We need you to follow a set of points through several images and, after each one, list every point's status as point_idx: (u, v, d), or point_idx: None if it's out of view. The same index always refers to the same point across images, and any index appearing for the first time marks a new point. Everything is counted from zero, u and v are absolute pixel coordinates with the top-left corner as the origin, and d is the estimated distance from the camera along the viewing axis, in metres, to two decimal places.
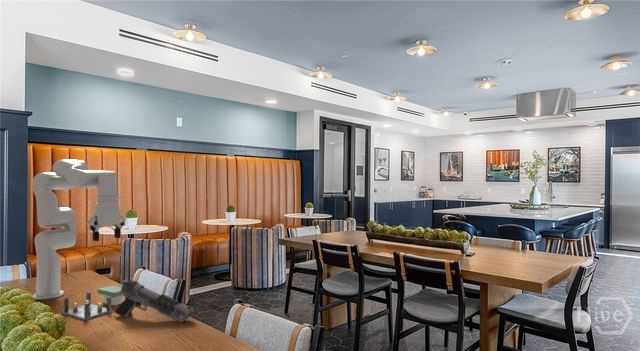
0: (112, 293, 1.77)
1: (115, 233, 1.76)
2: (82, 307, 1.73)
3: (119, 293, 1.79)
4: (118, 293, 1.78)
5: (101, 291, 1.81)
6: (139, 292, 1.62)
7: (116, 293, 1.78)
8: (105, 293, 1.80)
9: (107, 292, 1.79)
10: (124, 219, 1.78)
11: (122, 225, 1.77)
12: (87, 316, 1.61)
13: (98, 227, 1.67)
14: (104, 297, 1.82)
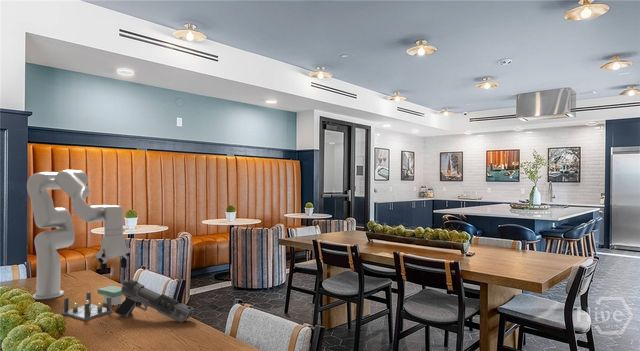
0: (112, 293, 1.77)
1: (121, 263, 1.87)
2: (82, 307, 1.73)
3: (119, 293, 1.79)
4: (118, 293, 1.78)
5: (101, 291, 1.81)
6: (139, 292, 1.62)
7: (116, 293, 1.78)
8: (105, 293, 1.80)
9: (107, 292, 1.79)
10: (130, 250, 1.89)
11: (128, 255, 1.88)
12: (87, 316, 1.61)
13: (106, 259, 1.78)
14: (104, 297, 1.82)
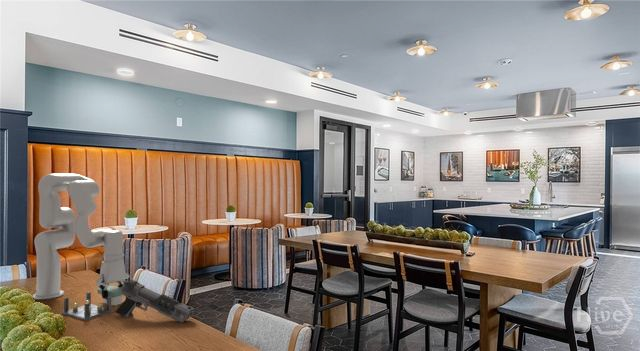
0: (112, 293, 1.77)
1: None
2: (82, 307, 1.73)
3: (119, 293, 1.79)
4: (118, 293, 1.78)
5: (101, 291, 1.81)
6: (139, 292, 1.62)
7: (116, 293, 1.78)
8: None
9: None
10: (128, 276, 1.89)
11: None
12: (87, 316, 1.61)
13: (107, 286, 1.79)
14: None
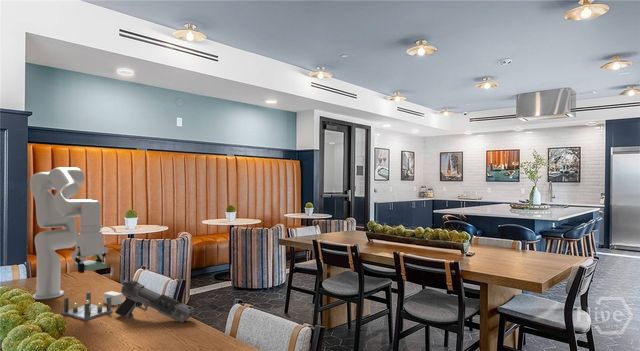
0: (89, 267, 1.65)
1: None
2: (82, 307, 1.73)
3: (97, 267, 1.67)
4: (95, 267, 1.66)
5: (77, 265, 1.69)
6: (139, 293, 1.62)
7: (93, 267, 1.65)
8: None
9: (84, 266, 1.67)
10: (106, 250, 1.76)
11: (103, 256, 1.75)
12: (87, 316, 1.61)
13: (83, 259, 1.66)
14: (104, 297, 1.82)
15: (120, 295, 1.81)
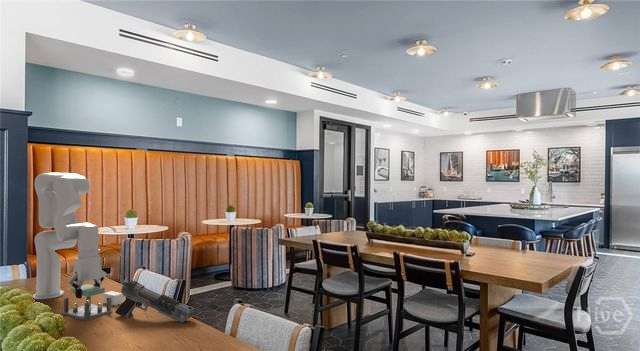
0: (86, 292, 1.64)
1: None
2: (82, 307, 1.73)
3: (94, 292, 1.66)
4: (93, 292, 1.65)
5: None
6: (139, 293, 1.62)
7: (91, 292, 1.64)
8: None
9: None
10: (104, 274, 1.75)
11: (101, 280, 1.74)
12: (87, 316, 1.61)
13: (81, 284, 1.65)
14: (104, 297, 1.82)
15: (120, 295, 1.81)
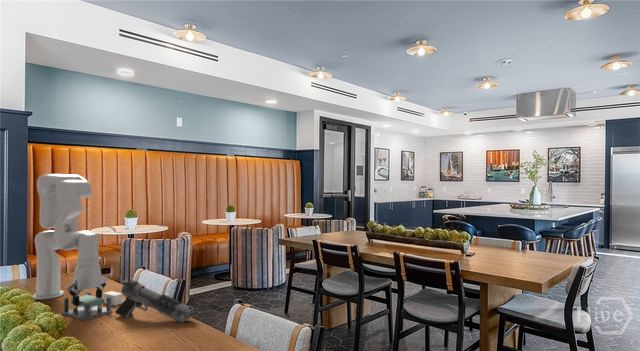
0: None
1: (96, 294, 1.73)
2: (82, 307, 1.73)
3: (94, 303, 1.66)
4: (93, 303, 1.65)
5: None
6: (139, 293, 1.62)
7: (90, 303, 1.64)
8: None
9: (81, 302, 1.66)
10: (106, 279, 1.76)
11: (104, 286, 1.75)
12: (87, 316, 1.61)
13: (78, 292, 1.65)
14: (104, 297, 1.82)
15: (120, 295, 1.81)
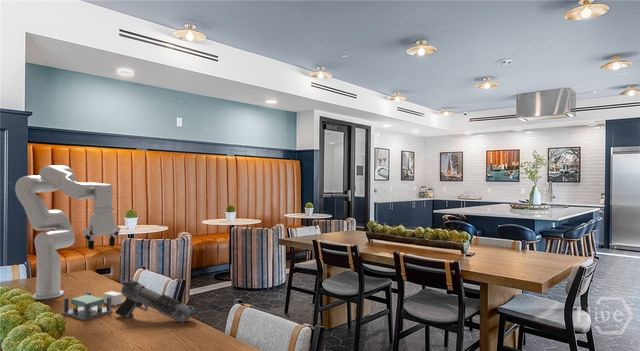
0: None
1: (110, 242, 1.88)
2: (82, 307, 1.73)
3: (94, 303, 1.66)
4: (93, 303, 1.65)
5: (75, 301, 1.68)
6: (140, 293, 1.62)
7: (90, 303, 1.64)
8: (78, 304, 1.66)
9: (81, 302, 1.66)
10: (118, 229, 1.90)
11: (116, 234, 1.89)
12: (87, 316, 1.61)
13: (93, 236, 1.79)
14: (104, 297, 1.82)
15: (120, 295, 1.81)
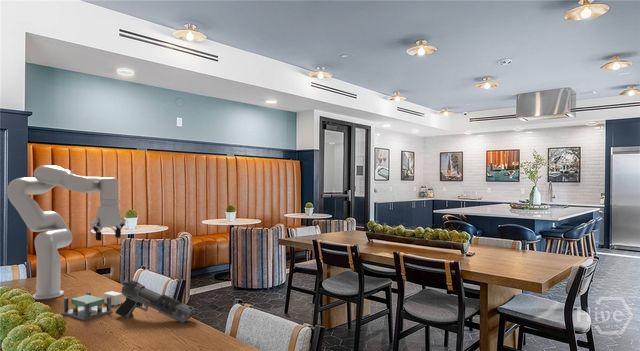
0: None
1: (116, 233, 1.94)
2: (82, 307, 1.73)
3: (94, 303, 1.66)
4: (93, 303, 1.65)
5: (75, 301, 1.68)
6: (140, 293, 1.62)
7: (90, 303, 1.64)
8: (78, 304, 1.66)
9: (81, 302, 1.66)
10: (124, 221, 1.97)
11: (122, 226, 1.96)
12: (87, 316, 1.61)
13: (100, 228, 1.85)
14: (104, 297, 1.82)
15: (120, 295, 1.81)
